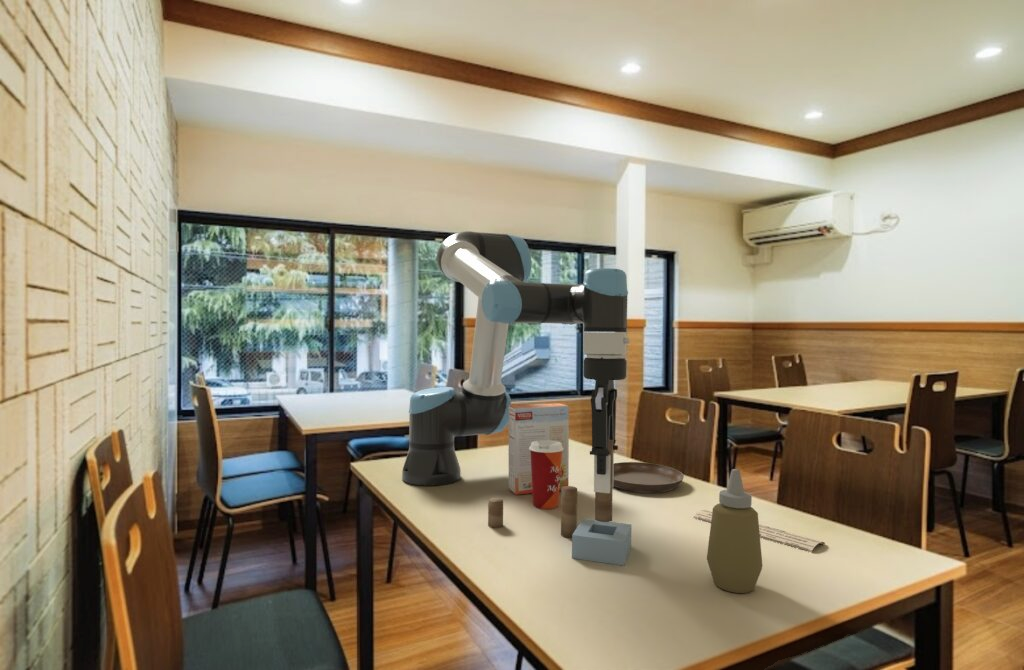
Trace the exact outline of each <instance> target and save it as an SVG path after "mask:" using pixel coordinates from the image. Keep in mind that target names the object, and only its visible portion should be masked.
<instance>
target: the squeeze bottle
mask: <svg viewBox="0 0 1024 670" xmlns="http://www.w3.org/2000/svg"><path fill="white" fill-rule="evenodd" d="M718 493H719V494H718V495H719V496H718V497H719V498H718V501H719V503H717V504H715V505H714V506H713V508H712V511H713V512H712V520H711V523H710V528H709V529H710V530H709V537H708V545H707V554H706V561H707V564H708V567H709V571H710V574H711V577H712V579H713V583H714V585H715V586H716V587H718V588H719V589H722V590H724V591H726V592H727V591H728V592H731V593H737V594H748V593H751V592H753V591H754V589H755V588H756V585H757V583H758V580H759V577H760V575H761V572H762V570H763V558H762V557H763V556H762V545H761V538H760V532H759V523H760V521H759V513H758V512H757V511H756V510H755V508H753V507H752V498H753V497H752V494H751V493H749V492H747V491H745V489H744V484H743V480H742V475H741V470H739V469H737V468H733V469H731V471H730V475H729V479H728V483H727V487H726V489H723V490H720V491H719V492H718Z"/></svg>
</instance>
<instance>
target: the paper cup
mask: <svg viewBox="0 0 1024 670" xmlns="http://www.w3.org/2000/svg"><path fill="white" fill-rule="evenodd" d="M529 449H530V450H531V472H532V493H531V494H532V503H533V507H535V508H537V509H541V510H553V509H556V508H558V506H559V500H560V498H559V497H560V491H559V488H560V474H561V459H562V451H563V447H562V444H561V442H558V441H552V440H537V441H533V442H532V443H531V446H530V447H529Z"/></svg>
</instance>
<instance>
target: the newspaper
mask: <svg viewBox="0 0 1024 670" xmlns="http://www.w3.org/2000/svg"><path fill="white" fill-rule="evenodd" d="M712 512H713V510H708V509H702V510H700V511H697V512H696V513H695V514H694V516H693V519H694V518H695V519H694V520H697V519H698V520H697V521H701V520H702V521H701V522H704V523H707V522H708V523H709V524H711V520H712ZM759 532H760V539H762V538H763V539H762V540H766V541H769V540H770V541H769V542H772V541H773V543H776V542H777V544H779V543H780V545H783V544H784V545H783V546H786V545H787V547H789V546H791V547H790V548H793V547H794V548H793V549H796V548H798V549H797V550H800V551H803V550H804V552H807V551H808V552H807V553H810V552H811V554H813V550H814V549H815V547H816V546H817V545H819V544H825V545H826V542H824V541H822V540H819V539H814V538H811V537H807V536H803V535H800V534H797V533H792V532H788V531H785V530H781V529H778V528H774V527H772V526H771V527H770V526H766V525H763V524H759Z"/></svg>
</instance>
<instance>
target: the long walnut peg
mask: <svg viewBox="0 0 1024 670" xmlns="http://www.w3.org/2000/svg"><path fill="white" fill-rule="evenodd" d="M609 451H610V453H609V455H611V457H610V493H601V492H594V494H595V495H594V497H595V498H594V500H595V502H594V520H597V521H600V522H613V488H614V486H613V451H614V450H613V440H611V439H609Z"/></svg>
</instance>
